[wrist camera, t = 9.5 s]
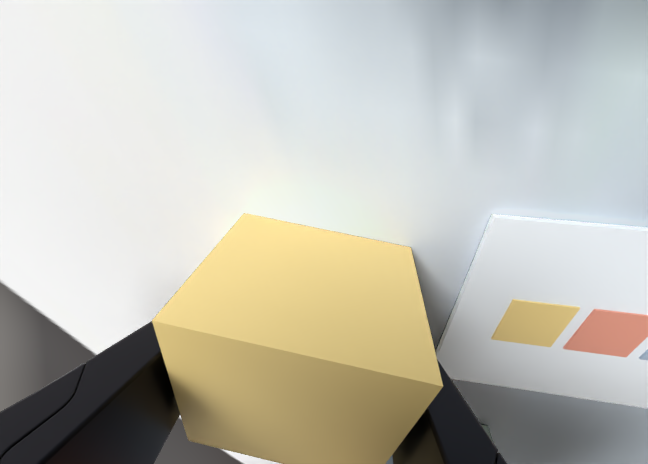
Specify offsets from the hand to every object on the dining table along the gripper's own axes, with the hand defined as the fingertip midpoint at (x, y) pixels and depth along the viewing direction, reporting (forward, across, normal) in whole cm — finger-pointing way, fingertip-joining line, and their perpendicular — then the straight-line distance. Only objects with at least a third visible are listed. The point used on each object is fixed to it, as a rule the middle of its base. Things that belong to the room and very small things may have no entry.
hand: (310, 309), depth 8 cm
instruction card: (+1, -9, 0) cm, 9 cm away
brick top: (+1, 0, 0) cm, 1 cm away
